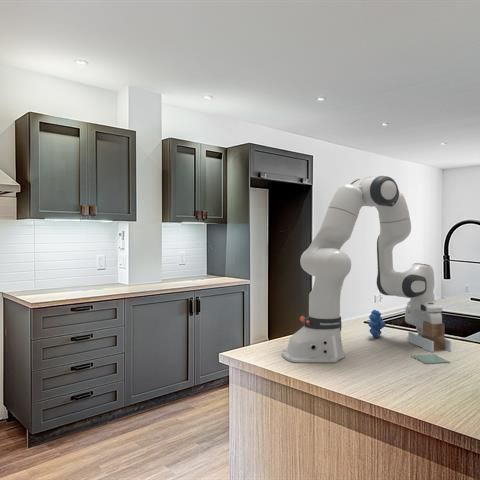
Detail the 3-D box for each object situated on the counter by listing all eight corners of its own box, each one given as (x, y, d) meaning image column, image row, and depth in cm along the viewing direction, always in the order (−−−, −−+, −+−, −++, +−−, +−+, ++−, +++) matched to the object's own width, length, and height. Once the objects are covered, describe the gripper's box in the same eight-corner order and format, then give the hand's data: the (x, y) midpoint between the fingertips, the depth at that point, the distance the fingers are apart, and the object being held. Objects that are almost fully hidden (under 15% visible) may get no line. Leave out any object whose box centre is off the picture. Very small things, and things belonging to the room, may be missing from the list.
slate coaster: (425, 364, 146) (425, 363, 146) (410, 356, 155) (410, 355, 155) (449, 362, 147) (449, 361, 147) (433, 355, 156) (433, 354, 156)
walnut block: (432, 350, 162) (432, 324, 162) (422, 346, 168) (423, 321, 168) (444, 350, 163) (444, 323, 163) (434, 346, 169) (434, 320, 169)
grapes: (381, 342, 176) (381, 312, 175) (364, 339, 180) (364, 310, 179) (390, 336, 185) (390, 308, 185) (374, 334, 189) (374, 306, 189)
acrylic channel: (432, 352, 160) (432, 341, 160) (408, 341, 176) (408, 331, 176) (451, 351, 161) (451, 340, 161) (425, 340, 177) (425, 330, 177)
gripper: (400, 300, 182) (400, 333, 183) (430, 308, 162) (429, 345, 162) (414, 299, 183) (414, 332, 184) (445, 308, 163) (445, 344, 164)
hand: (422, 338), depth 173 cm, fingers closed
